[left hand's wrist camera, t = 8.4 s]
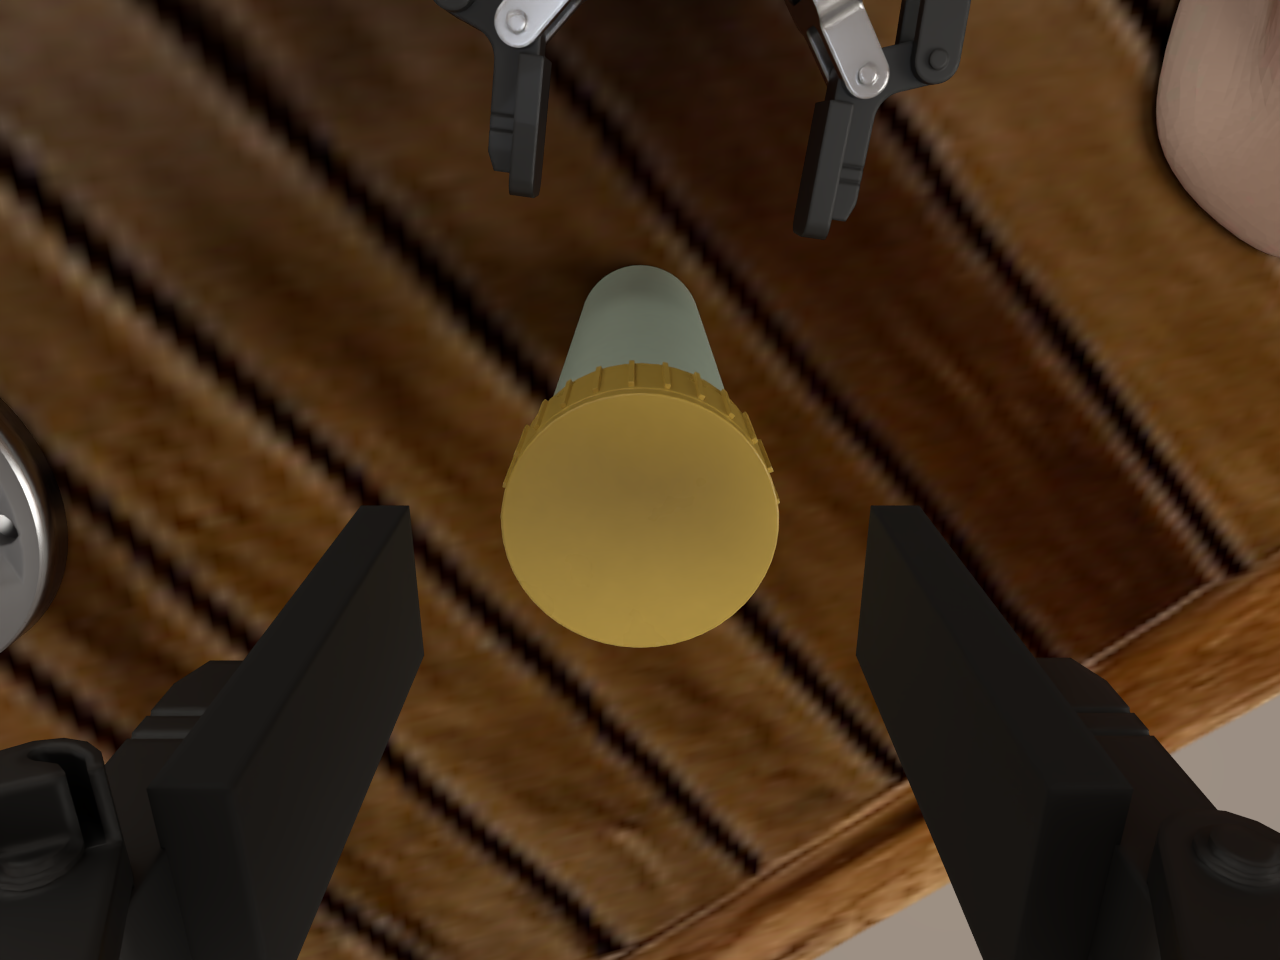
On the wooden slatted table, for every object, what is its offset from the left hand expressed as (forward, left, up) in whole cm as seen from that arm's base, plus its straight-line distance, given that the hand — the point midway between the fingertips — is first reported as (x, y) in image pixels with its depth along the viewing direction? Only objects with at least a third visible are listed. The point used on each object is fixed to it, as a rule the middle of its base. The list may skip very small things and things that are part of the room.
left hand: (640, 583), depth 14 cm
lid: (0, 0, -3) cm, 3 cm away
